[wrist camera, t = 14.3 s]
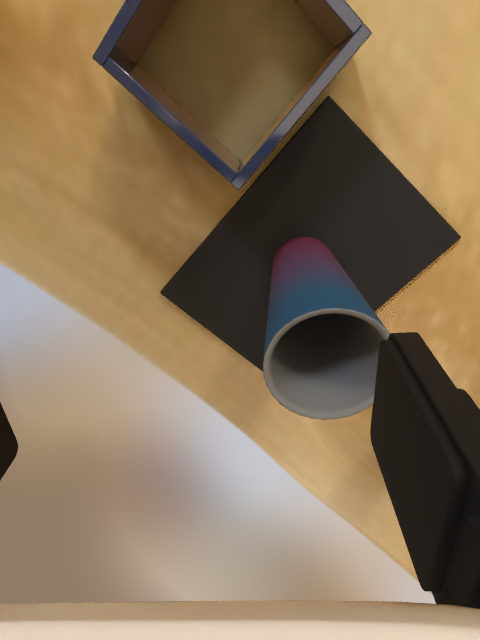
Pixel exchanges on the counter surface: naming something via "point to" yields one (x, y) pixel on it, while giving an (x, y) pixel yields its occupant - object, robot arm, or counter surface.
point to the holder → (120, 61)
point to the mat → (311, 230)
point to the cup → (319, 335)
